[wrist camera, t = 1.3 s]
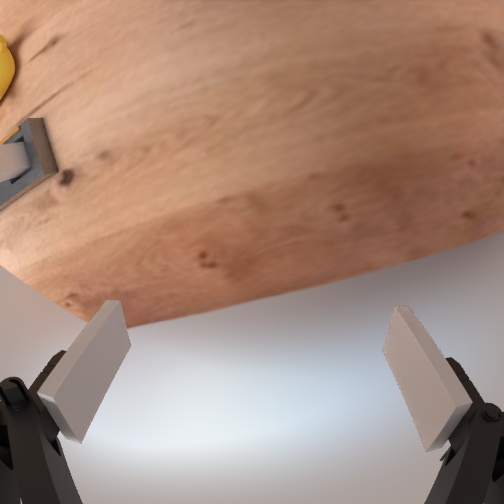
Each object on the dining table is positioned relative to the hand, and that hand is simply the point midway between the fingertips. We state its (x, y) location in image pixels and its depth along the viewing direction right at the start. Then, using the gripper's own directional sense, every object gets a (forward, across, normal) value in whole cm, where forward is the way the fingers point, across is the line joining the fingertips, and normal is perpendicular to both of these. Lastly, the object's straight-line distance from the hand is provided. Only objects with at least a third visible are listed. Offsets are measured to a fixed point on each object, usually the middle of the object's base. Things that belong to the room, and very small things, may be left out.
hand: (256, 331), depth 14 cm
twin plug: (+25, -35, +8) cm, 44 cm away
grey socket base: (+26, -39, +7) cm, 48 cm away
